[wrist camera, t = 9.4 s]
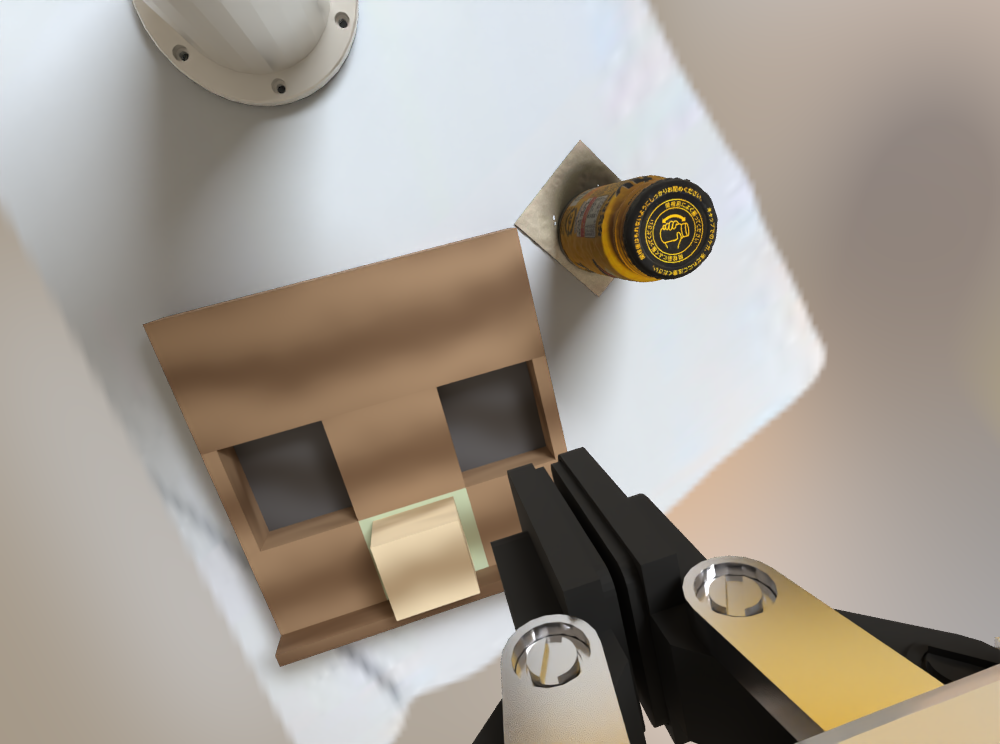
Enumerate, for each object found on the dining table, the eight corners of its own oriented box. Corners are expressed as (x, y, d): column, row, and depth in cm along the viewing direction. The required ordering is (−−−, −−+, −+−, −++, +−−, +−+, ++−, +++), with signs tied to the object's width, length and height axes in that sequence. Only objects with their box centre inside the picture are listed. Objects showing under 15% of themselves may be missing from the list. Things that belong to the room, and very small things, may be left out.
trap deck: (163, 317, 35) (126, 330, 31) (507, 228, 38) (523, 227, 33) (293, 618, 42) (280, 666, 38) (576, 525, 45) (597, 559, 40)
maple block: (372, 521, 38) (370, 548, 35) (453, 496, 39) (458, 520, 36) (397, 589, 40) (396, 621, 37) (473, 563, 41) (480, 593, 37)
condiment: (597, 296, 41) (675, 320, 29) (514, 223, 38) (563, 218, 27) (659, 220, 40) (763, 213, 29) (578, 140, 38) (657, 98, 26)
